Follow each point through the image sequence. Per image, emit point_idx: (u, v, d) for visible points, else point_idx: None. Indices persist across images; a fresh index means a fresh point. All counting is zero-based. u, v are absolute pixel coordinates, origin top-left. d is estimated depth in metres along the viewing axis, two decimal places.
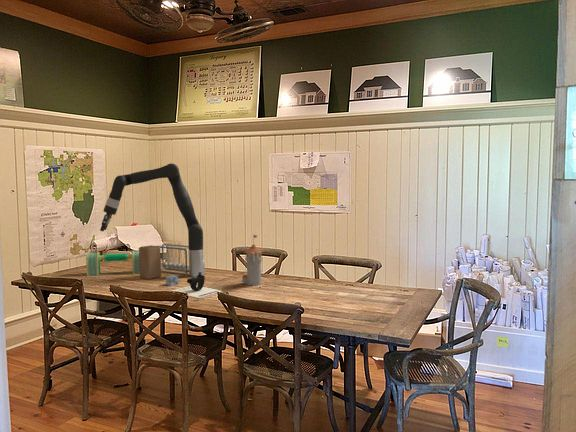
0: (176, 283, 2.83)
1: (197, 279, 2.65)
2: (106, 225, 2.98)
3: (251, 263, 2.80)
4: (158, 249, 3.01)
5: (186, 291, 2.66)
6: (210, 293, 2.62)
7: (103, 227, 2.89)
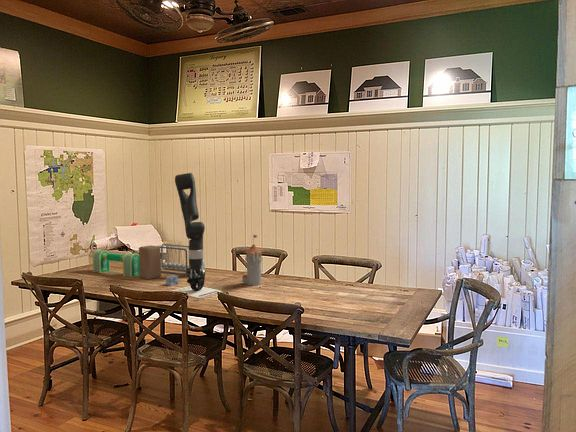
0: (176, 283, 2.83)
1: None
2: None
3: (251, 263, 2.80)
4: (158, 249, 3.01)
5: (186, 291, 2.66)
6: (210, 293, 2.62)
7: (200, 283, 2.65)
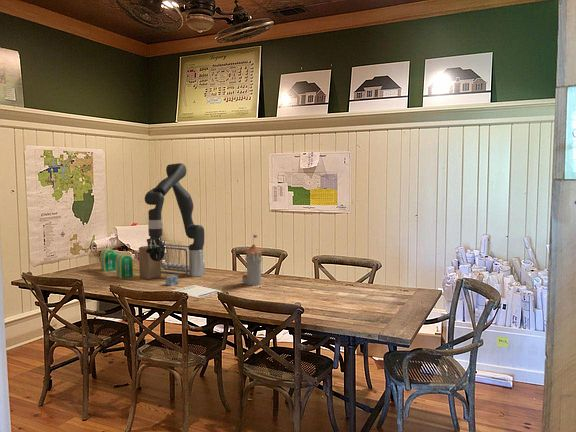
0: (176, 283, 2.83)
1: None
2: None
3: (251, 263, 2.80)
4: None
5: (186, 291, 2.66)
6: (210, 293, 2.62)
7: (160, 253, 2.66)
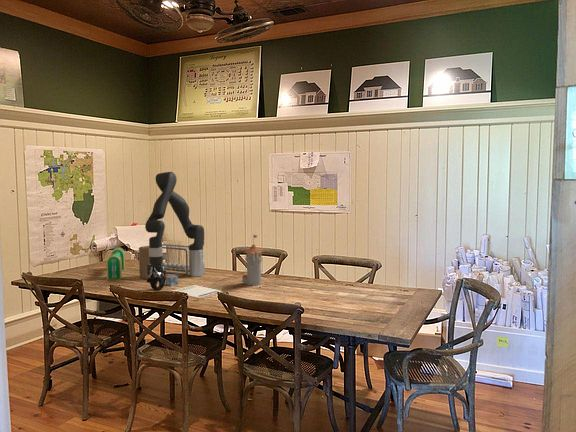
0: (176, 283, 2.83)
1: (157, 278, 2.68)
2: None
3: (251, 263, 2.80)
4: None
5: (186, 291, 2.66)
6: (210, 293, 2.62)
7: (162, 280, 2.67)
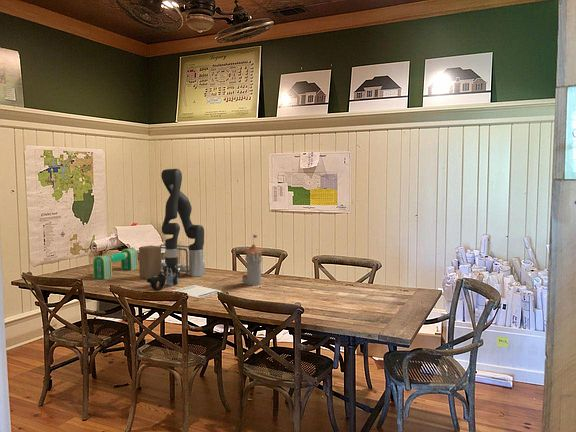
0: None
1: (157, 278, 2.68)
2: None
3: (251, 263, 2.80)
4: (158, 249, 3.01)
5: (186, 291, 2.66)
6: (210, 293, 2.62)
7: (176, 280, 2.81)
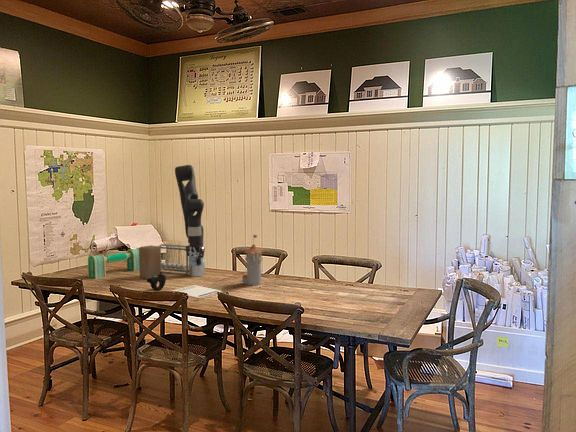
0: None
1: (157, 278, 2.68)
2: None
3: (251, 263, 2.80)
4: (158, 249, 3.01)
5: (186, 291, 2.66)
6: (210, 293, 2.62)
7: (200, 260, 2.64)
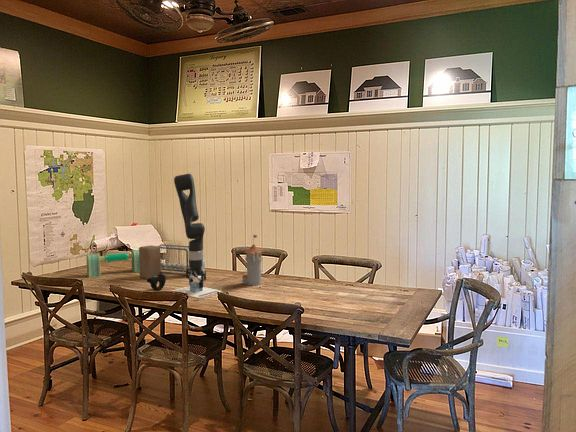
0: (200, 289, 2.67)
1: (157, 278, 2.68)
2: (192, 280, 2.70)
3: (251, 263, 2.80)
4: (158, 249, 3.01)
5: (186, 291, 2.66)
6: (210, 293, 2.62)
7: (202, 283, 2.64)
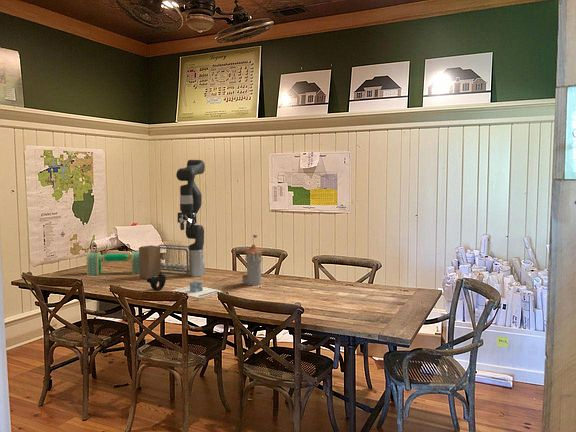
0: (200, 289, 2.67)
1: (157, 278, 2.68)
2: (183, 225, 2.80)
3: (251, 263, 2.80)
4: (158, 249, 3.01)
5: (186, 291, 2.66)
6: (210, 293, 2.62)
7: (193, 226, 2.74)
